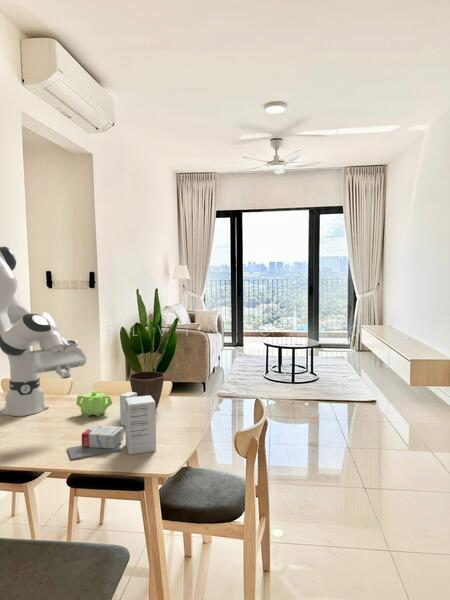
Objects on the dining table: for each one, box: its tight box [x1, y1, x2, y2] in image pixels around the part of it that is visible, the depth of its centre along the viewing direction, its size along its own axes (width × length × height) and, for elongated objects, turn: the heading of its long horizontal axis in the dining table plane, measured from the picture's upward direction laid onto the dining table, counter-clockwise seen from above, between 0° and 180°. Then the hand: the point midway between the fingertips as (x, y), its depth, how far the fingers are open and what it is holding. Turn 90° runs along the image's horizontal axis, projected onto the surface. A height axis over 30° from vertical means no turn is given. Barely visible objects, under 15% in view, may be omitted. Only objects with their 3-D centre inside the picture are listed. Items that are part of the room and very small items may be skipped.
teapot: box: [75, 390, 113, 418], centre depth 179 cm, size 12×12×10 cm
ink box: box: [81, 424, 125, 449], centre depth 146 cm, size 9×5×12 cm
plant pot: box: [128, 371, 165, 410], centre depth 183 cm, size 15×15×16 cm
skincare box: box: [119, 391, 137, 426], centre depth 168 cm, size 6×4×12 cm
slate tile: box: [66, 444, 122, 461], centre depth 142 cm, size 10×16×1 cm, turn 118°
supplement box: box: [124, 396, 157, 455], centre depth 144 cm, size 10×9×17 cm
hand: (66, 377), depth 157 cm, fingers closed
